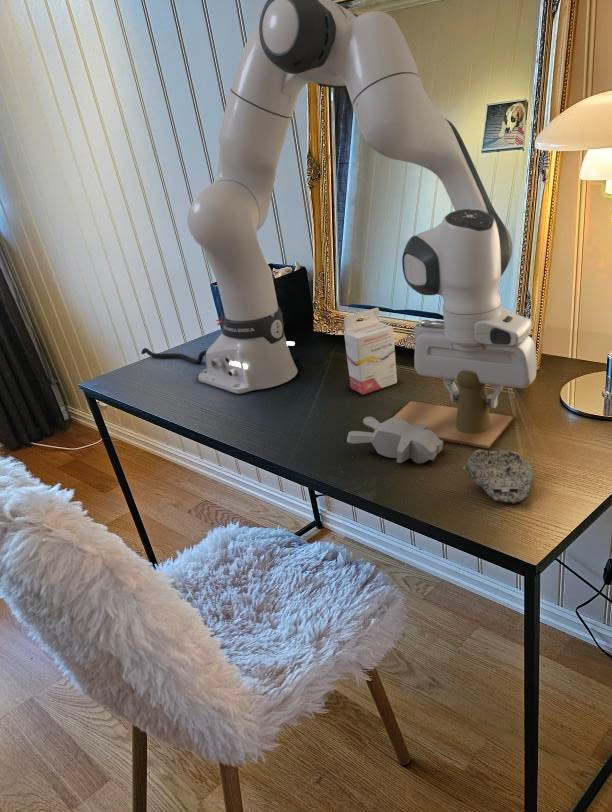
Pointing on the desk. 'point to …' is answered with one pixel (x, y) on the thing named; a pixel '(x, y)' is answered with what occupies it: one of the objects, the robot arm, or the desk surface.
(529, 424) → the desk surface
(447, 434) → the cork mat
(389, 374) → the ink cartridge box
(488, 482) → the rock sample
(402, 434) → the bunny figurine
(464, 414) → the pepper shaker
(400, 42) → the robot arm
